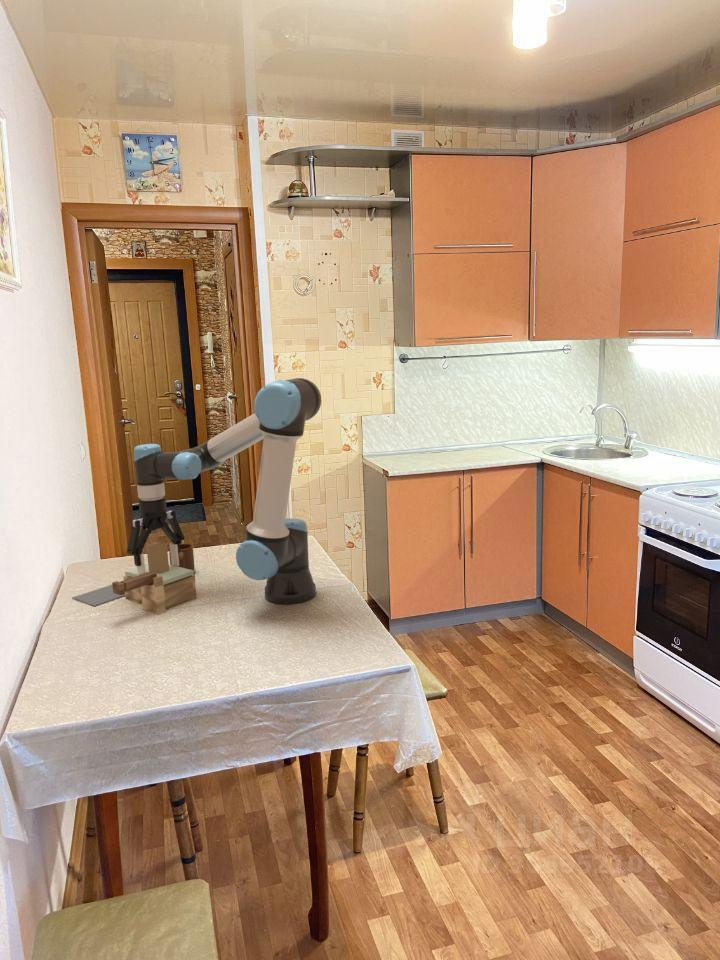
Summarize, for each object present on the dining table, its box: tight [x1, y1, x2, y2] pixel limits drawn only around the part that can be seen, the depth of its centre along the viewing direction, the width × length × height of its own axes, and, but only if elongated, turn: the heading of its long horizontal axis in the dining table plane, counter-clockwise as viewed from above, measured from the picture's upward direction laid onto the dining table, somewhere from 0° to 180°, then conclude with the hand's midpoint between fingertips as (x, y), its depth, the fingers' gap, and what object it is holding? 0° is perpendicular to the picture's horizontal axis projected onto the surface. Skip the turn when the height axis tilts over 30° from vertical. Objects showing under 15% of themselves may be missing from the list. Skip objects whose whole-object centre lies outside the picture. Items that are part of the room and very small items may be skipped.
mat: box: [71, 584, 125, 608], centre depth 218 cm, size 12×20×1 cm, turn 142°
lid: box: [124, 542, 195, 585], centre depth 210 cm, size 18×11×10 cm, turn 52°
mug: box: [168, 543, 195, 573], centre depth 231 cm, size 12×8×9 cm, turn 15°
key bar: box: [111, 572, 157, 595], centre depth 197 cm, size 3×12×3 cm, turn 142°
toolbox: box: [122, 572, 198, 615], centre depth 210 cm, size 19×14×10 cm
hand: (159, 570), depth 210 cm, fingers closed on lid, 11 cm apart
